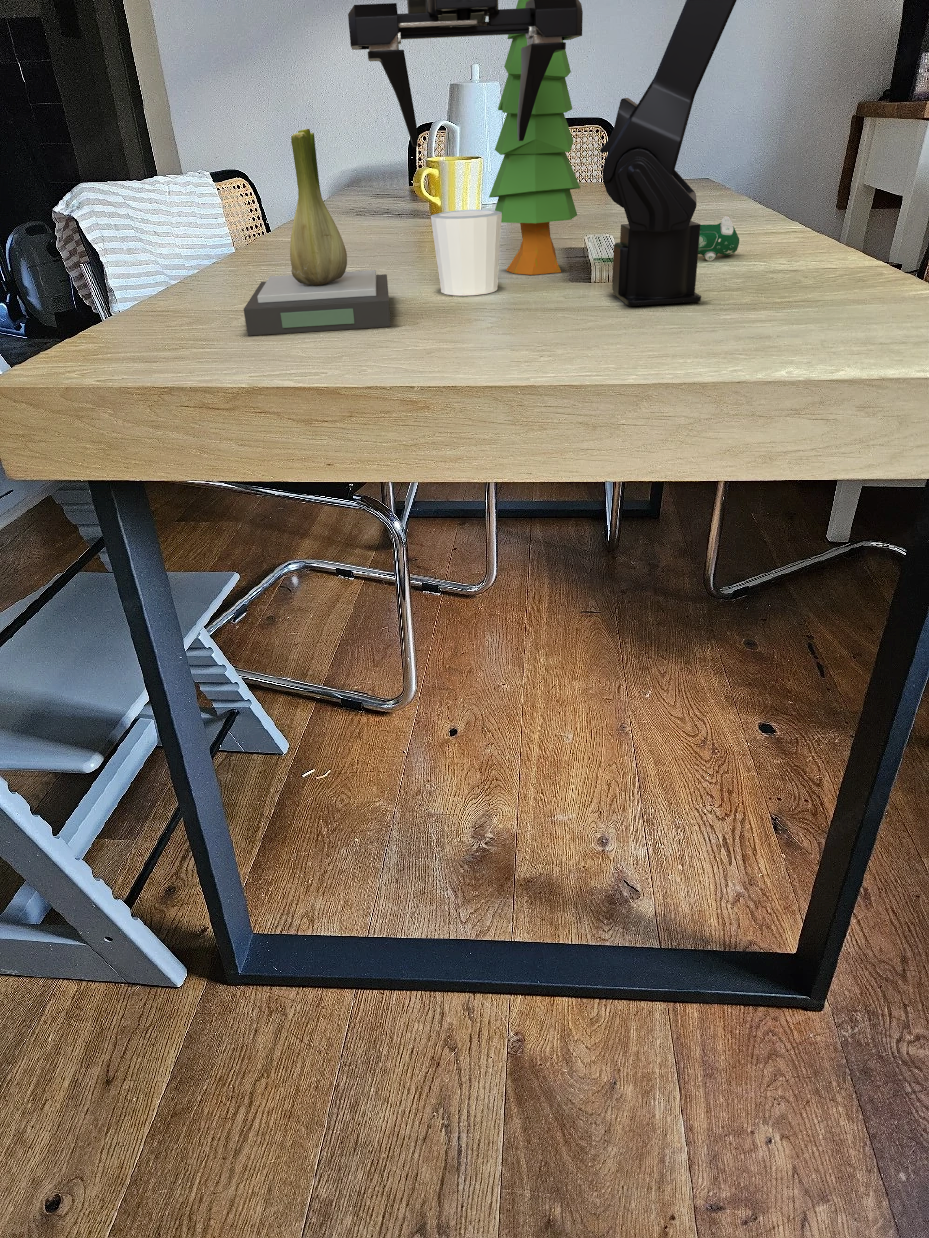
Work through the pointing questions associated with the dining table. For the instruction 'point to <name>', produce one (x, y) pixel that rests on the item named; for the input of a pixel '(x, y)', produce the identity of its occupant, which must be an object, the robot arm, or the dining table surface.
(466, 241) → the white cup
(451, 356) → the dining table surface
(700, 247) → the green toy car
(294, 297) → the kitchen scale
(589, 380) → the dining table surface
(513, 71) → the decorative tree
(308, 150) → the fennel bulb
